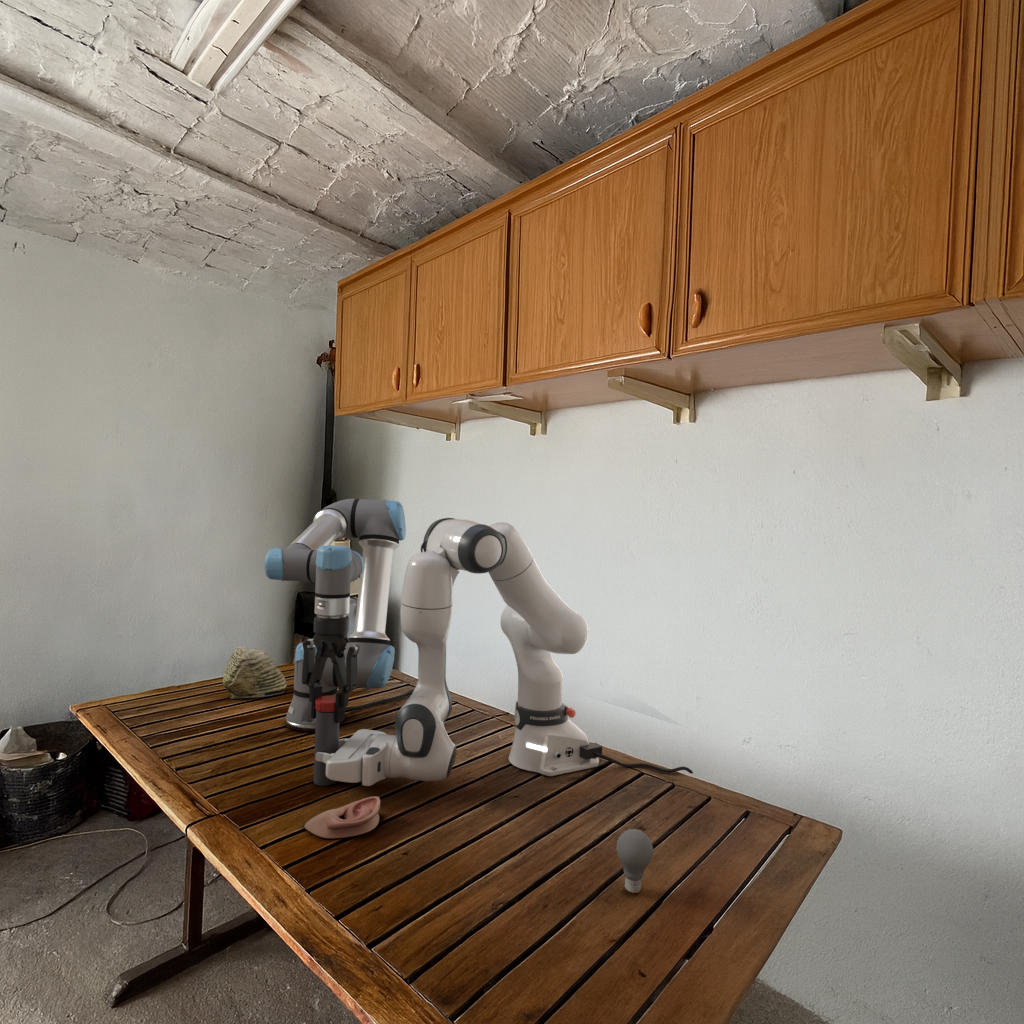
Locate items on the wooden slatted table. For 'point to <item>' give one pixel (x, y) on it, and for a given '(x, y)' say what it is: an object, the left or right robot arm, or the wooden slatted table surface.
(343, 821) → the anatomical model
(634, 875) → the light bulb
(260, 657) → the fossil
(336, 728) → the jar
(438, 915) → the wooden slatted table surface
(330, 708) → the lid
